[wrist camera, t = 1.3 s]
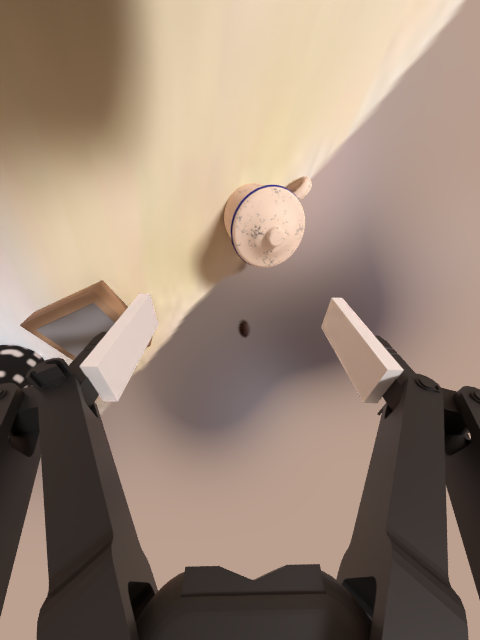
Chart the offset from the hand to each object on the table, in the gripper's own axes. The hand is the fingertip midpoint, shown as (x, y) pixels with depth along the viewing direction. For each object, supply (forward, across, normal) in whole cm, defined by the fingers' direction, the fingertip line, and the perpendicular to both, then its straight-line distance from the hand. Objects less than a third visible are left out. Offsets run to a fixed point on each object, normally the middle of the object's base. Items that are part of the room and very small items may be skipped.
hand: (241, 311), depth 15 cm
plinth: (+17, -25, -14) cm, 33 cm away
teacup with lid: (+22, +3, +4) cm, 22 cm away
